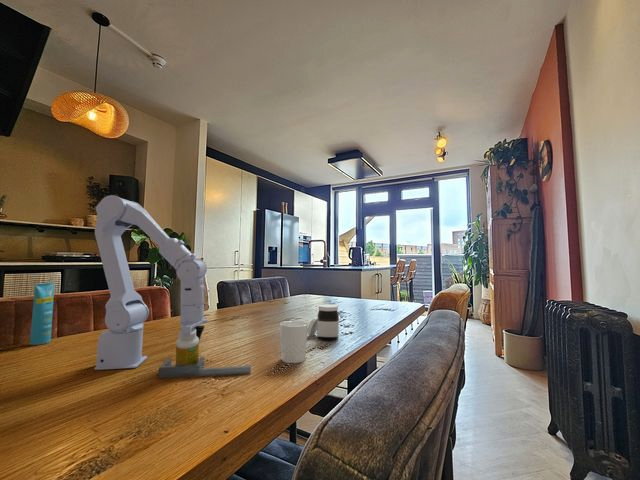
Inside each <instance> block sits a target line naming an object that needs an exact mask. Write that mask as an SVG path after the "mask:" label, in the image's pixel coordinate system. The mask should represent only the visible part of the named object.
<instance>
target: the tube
mask: <svg viewBox="0 0 640 480" xmlns="http://www.w3.org/2000/svg"><path fill="white" fill-rule="evenodd" d="M33 295H34V296H33V303H32V304H33V305H32V315H31V316H32V317H31V326H30V336H29V337H30V339H29V345H32V346H37V345H38V346H39V345H44V344H45V343H46V344H49V343H51V340H52V329H53V328H52V327H53V326H52V325H53V313H54V312H53V310H54V301H55V300H54V298H55V297H54V296H55V281H51V282H45V283H36V284H35V286H34V294H33Z"/></svg>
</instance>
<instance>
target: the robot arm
mask: <svg viewBox="0 0 640 480" xmlns="http://www.w3.org/2000/svg"><path fill="white" fill-rule="evenodd" d="M95 211H96V215H97V217H96V222H95V226H94V227H95V229H94V237H95V240H96V244H97V247H98V251H99V255H100V259H101V263H102V267H103V271H104V276H105V280H106V282H107V287H108V291H109V295H110V296H109V297H110V298H109V299H108V300H107V302H106V304H105V317H104V323H105V326H106V328H107V329H108V330H104V331H102V332H101V333H100V335H99V337H98V340H97V346H96V347H97V348H96V350H97V351H96V362H95V363H96V365H95V367H94V370H95V371H98V370H99V371H100V370H115V369H116V370H118V369H119V370H121V369H136V368H138V366H140V365H141V364H142V363H143V362H144V361H145V360H147V358H148V356H147V355H143V337H144V323H145V322H146V320H147V319H148V317H149V315H150V310H149V307H148V306H147V304H145V302H144V301H143V297H142V295H141V294H140V293H138V292H137V291H136V290H135V286H134V282H133V278H132V275H131V271H130V267H129V263H128V260H127V256H126V251H125V246H124V243H123V241H122V235H123V234H124V233H125V232H126V230H128V229H129V228H130V227H132V226H133V225H134V226H137V227H138V228H140V229H141V231H143V232H144V233H145V234H146V235H147V236H148V237H149V238H150V239H151V240H152V241H154V242H155V243H156V244H157V245H158V253H159V254H160V255H161V256H162V257H163V258H164V259H165V260H166V261H167V262H168V263H169V264H170V265H171V266H172V267H173V268H174V269H175V271H176V273H175V274H176V276H177V278H178V279H179V280H180V321H179V326H180V327H181V329H182V335H190V334H191V329H192V328H195V329H196V336H197V337H198V338H199V342H200V341H201V338H202V334H203V332H204V329H205V326H204V325H203V324H208V323H209V318H205V316H204V315H205V310H204V309H205V307H204V306H205V305H204V304H205V302H204V301H205V300H204V299H205V293H204V292H205V286H204V277H205V275H206V273H207V269H208V268H207V265H206V263H205V261H204V260H202V259H200V258H196V257H197V254H195V253H192V252H191V251H190V250H189V249H188V248H187V247H186V246H185V244H186V243H185V242H184V241H183V239H178V238H176V237H174V238H173V237H170V236H169V234H167V233H166V232H165V230H163V228H162V227H161V226H160V225H159V224H158V222H156V221H155V219H154V218H153V217H152V215H150V214H149V212H148V211H147V209H145V208H144V207H142V205H140V204H139V202H136V201H133V200H132V201H130V200H128V199H125V198H121V197H119V196H117V195H113V194H110V195H107V196H105V197H103V198H102V199H101V200H100V201H99V202H98V203H97V205H96V206H95Z"/></svg>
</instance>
